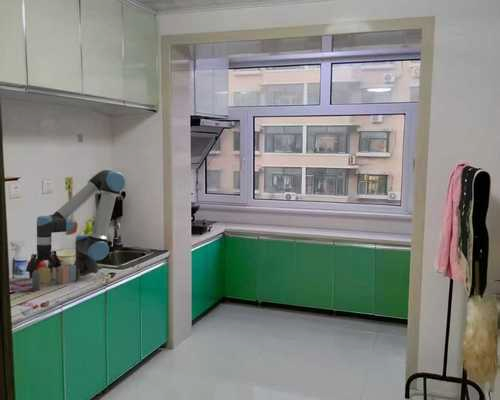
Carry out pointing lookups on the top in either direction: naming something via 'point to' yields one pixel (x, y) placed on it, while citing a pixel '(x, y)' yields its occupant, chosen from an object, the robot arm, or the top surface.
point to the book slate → (72, 272)
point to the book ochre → (44, 274)
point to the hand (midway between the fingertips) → (43, 281)
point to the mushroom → (41, 265)
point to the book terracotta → (63, 274)
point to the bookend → (35, 282)
